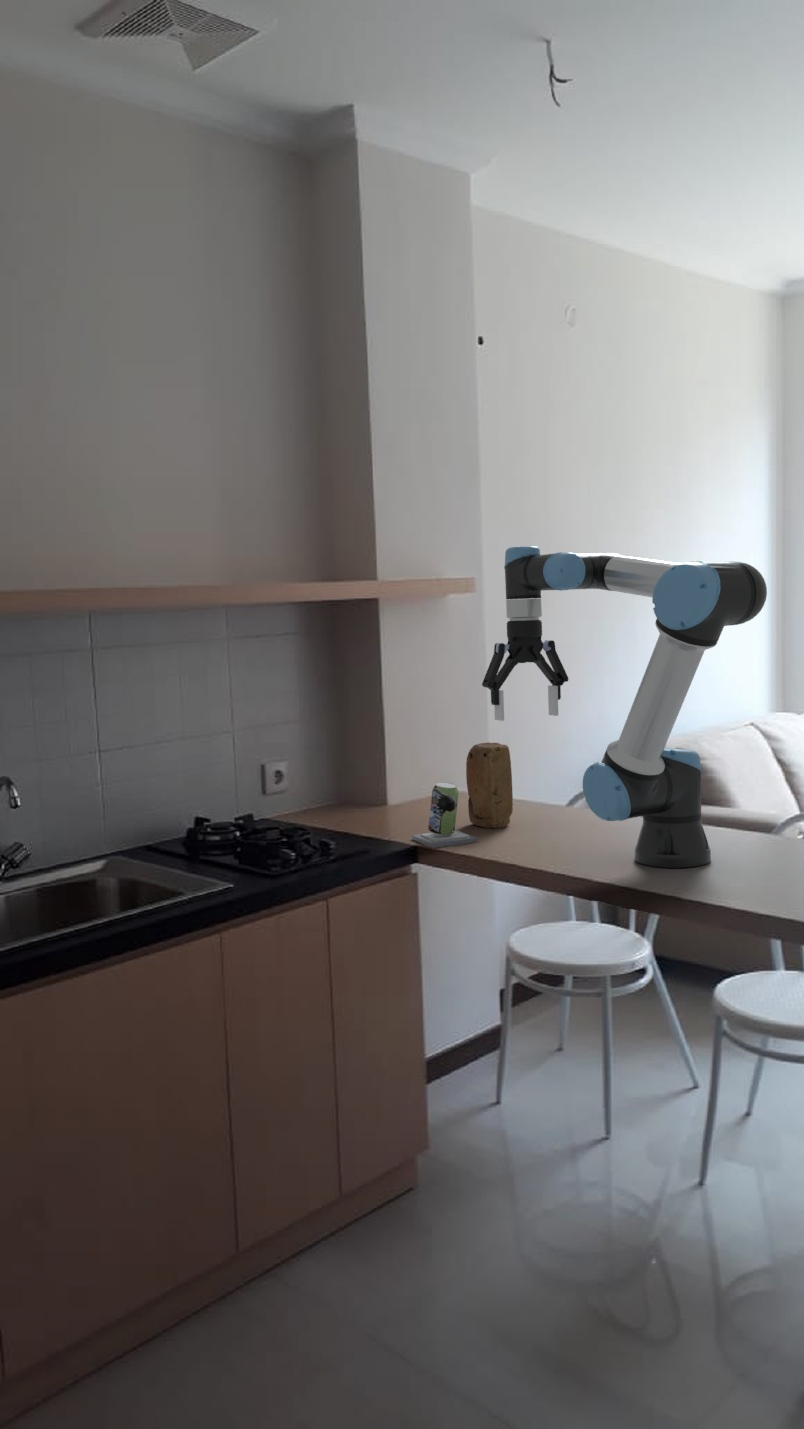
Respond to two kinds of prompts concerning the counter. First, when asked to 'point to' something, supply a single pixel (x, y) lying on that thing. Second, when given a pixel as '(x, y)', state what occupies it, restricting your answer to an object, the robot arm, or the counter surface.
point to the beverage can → (443, 809)
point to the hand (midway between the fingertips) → (526, 717)
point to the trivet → (444, 839)
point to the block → (489, 785)
